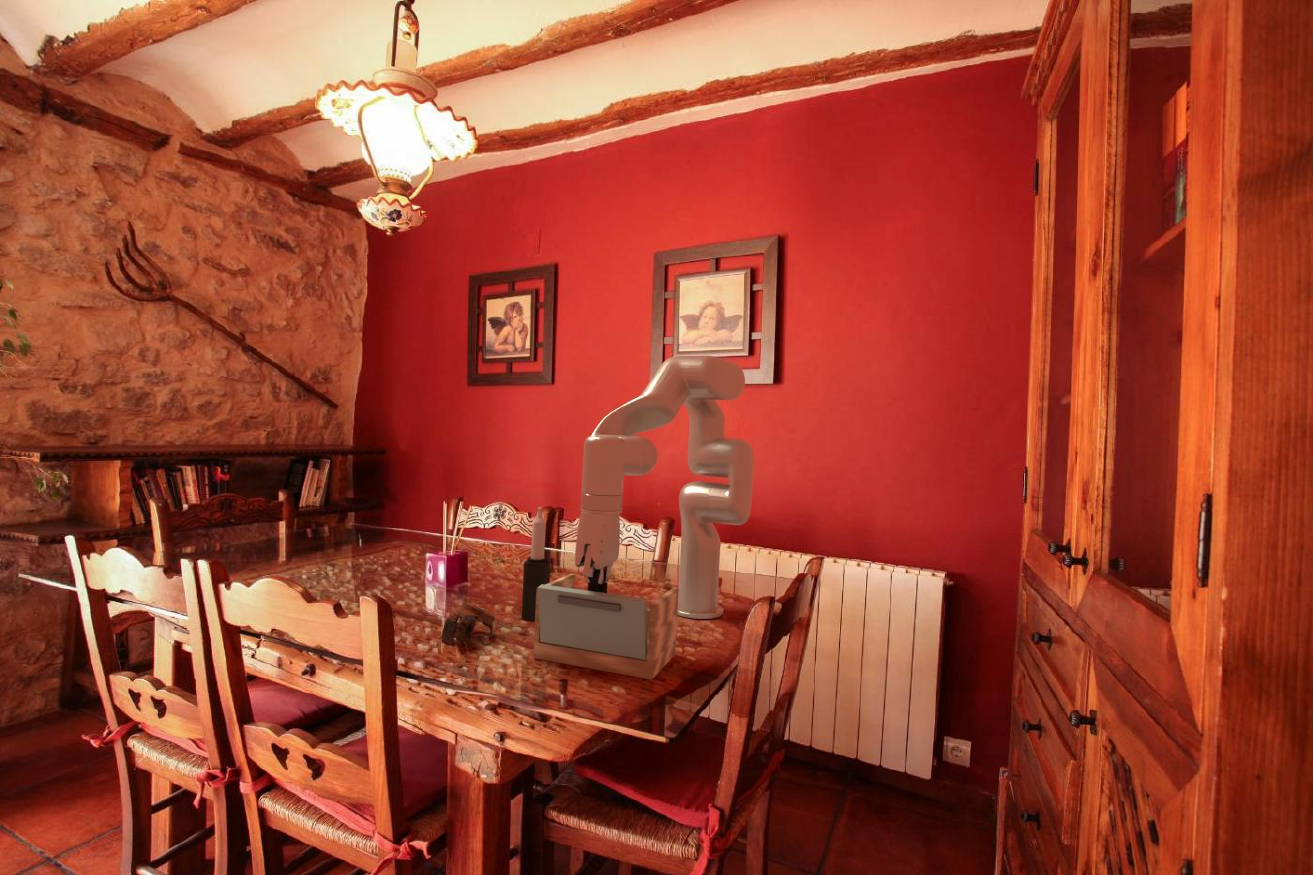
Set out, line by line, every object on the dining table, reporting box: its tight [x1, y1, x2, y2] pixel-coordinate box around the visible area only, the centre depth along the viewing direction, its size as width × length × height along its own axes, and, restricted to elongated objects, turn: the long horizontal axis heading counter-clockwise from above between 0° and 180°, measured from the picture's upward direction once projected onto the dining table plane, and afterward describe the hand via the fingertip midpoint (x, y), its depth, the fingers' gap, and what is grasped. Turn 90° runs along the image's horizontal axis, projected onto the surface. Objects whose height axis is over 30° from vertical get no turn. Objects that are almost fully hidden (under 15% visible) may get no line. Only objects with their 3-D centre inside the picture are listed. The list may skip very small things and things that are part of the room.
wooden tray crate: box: [532, 573, 679, 680], centre depth 119 cm, size 14×23×13 cm, turn 71°
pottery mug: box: [440, 601, 496, 646], centre depth 124 cm, size 12×10×8 cm
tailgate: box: [538, 584, 648, 660], centre depth 112 cm, size 2×21×11 cm, turn 71°
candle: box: [520, 506, 551, 622], centre depth 141 cm, size 5×5×25 cm
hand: (596, 604), depth 114 cm, fingers closed
